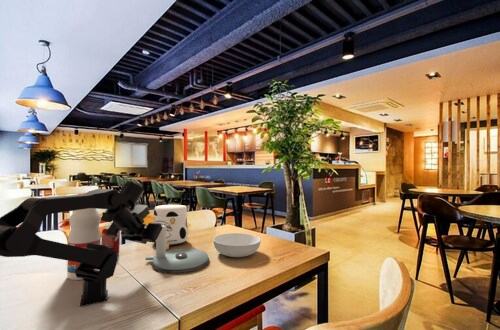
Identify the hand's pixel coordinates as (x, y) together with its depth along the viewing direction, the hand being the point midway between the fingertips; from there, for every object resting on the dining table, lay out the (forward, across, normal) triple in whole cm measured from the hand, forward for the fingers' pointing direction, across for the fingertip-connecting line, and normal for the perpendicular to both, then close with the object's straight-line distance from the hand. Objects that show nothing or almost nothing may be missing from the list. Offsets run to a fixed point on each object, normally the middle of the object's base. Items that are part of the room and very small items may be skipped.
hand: (145, 242), depth 92 cm
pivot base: (+16, -7, -2) cm, 17 cm away
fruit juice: (0, +17, +14) cm, 22 cm away
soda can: (+14, +24, +1) cm, 28 cm away
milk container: (+30, +11, -15) cm, 36 cm away
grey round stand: (+14, -7, -1) cm, 16 cm away
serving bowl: (+28, -25, -13) cm, 40 cm away
